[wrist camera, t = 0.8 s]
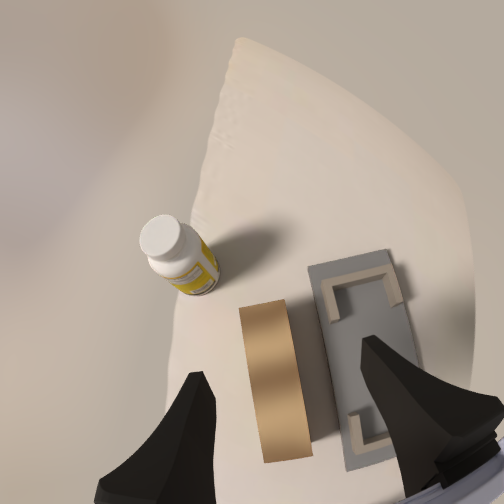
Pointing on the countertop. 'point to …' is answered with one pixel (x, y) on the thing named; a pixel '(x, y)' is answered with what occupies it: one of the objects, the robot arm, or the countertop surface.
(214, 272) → the supplement bottle
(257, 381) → the oak slat
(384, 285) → the cap board
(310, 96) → the countertop surface
